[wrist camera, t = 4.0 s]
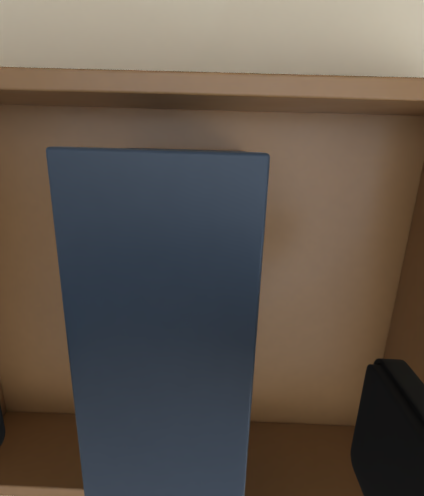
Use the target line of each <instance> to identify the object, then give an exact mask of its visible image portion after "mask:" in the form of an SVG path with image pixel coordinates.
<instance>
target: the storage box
mask: <svg viewBox="0 0 424 496" xmlns="http://www.w3.org/2000/svg"><path fill="white" fill-rule="evenodd" d="M47 147H96V148H153V149H187V150H221V151H245V152H263V153H268V154H269V155H270V166H269V180H268V193H267V206H266V219H265V232H264V246H263V259H262V272H261V285H260V299H259V312H258V325H257V338H256V351H255V365H254V378H253V391H252V404H251V417H250V431H249V444H248V457H247V470H246V483H245V496H364V495H363V493H362V490H361V487H360V485H359V482H358V480H357V477H356V475H355V472H354V470H353V467H352V463H351V454H350V452H351V445H352V440H353V435H354V430H355V425H356V419H357V414H358V409H359V404H360V399H361V394H362V388H363V383H364V378H365V373H366V369H367V366H368V365H369V364H374V361H375V360H376V359H378V358H380V359H401V360H404V361H405V362H406V363H407V364H408V365H409V366H410V368H411V369H412V370H413V371H414V373H415V374H416V375H417V376H418V377H419V379H420V380H421V381H422V382H423V383H424V78H416V77H377V76H338V75H298V74H259V73H220V72H181V71H142V70H102V69H63V68H24V67H0V405H1V410H2V415H3V420H4V425H5V437H4V441H3V443H2V445H1V446H0V496H84V488H83V479H82V470H81V462H80V453H79V444H78V435H77V426H76V417H75V408H74V399H73V390H72V381H71V372H70V363H69V354H68V345H67V336H66V328H65V319H64V310H63V301H62V292H61V283H60V274H59V265H58V256H57V247H56V238H55V229H54V220H53V211H52V202H51V194H50V185H49V176H48V167H47V158H46V148H47Z"/></svg>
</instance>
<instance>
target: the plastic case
mask: <svg viewBox="0 0 424 496" xmlns="http://www.w3.org/2000/svg"><path fill="white" fill-rule="evenodd" d="M46 158H47V167H48V176H49V185H50V194H51V202H52V211H53V220H54V229H55V238H56V247H57V256H58V265H59V274H60V283H61V292H62V301H63V310H64V319H65V328H66V336H67V345H68V354H69V363H70V372H71V381H72V390H73V399H74V408H75V417H76V426H77V435H78V444H79V453H80V462H81V470H82V479H83V488H84V496H245V483H246V470H247V457H248V444H249V431H250V417H251V404H252V391H253V378H254V365H255V351H256V338H257V325H258V312H259V299H260V285H261V272H262V259H263V246H264V232H265V219H266V206H267V193H268V180H269V166H270V155H269V154H268V153H263V152H245V151H221V150H187V149H153V148H96V147H47V148H46Z"/></svg>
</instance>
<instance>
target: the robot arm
mask: <svg viewBox="0 0 424 496" xmlns="http://www.w3.org/2000/svg"><path fill="white" fill-rule="evenodd" d="M4 437H5V425H4V420H3V415H2V410H1V405H0V446H1V445H2V443H3V441H4ZM350 454H351V463H352V467H353V470H354V472H355V475H356V477H357V480H358V482H359V485H360V487H361V490H362V493H363V495H364V496H424V383H423V382H422V381H421V380H420V379H419V377H418V376H417V375H416V374H415V373H414V371H413V370H412V369H411V368H410V366H409V365H408V364H407V363H406V362H405V361H404V360H401V359H380V358H378V359H376V360H375V361H374V364H369V365H368V366H367V369H366V373H365V378H364V383H363V388H362V394H361V399H360V404H359V409H358V414H357V419H356V425H355V430H354V435H353V440H352V445H351V452H350Z"/></svg>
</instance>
